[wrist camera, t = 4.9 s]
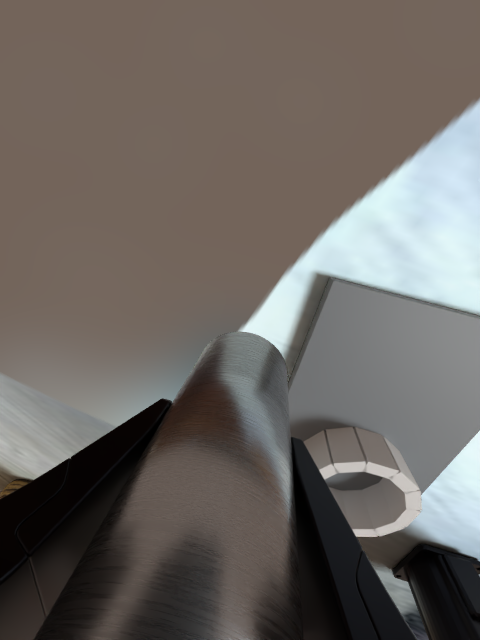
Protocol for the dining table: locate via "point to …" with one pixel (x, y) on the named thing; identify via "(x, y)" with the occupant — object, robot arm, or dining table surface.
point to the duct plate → (384, 399)
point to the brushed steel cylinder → (200, 517)
